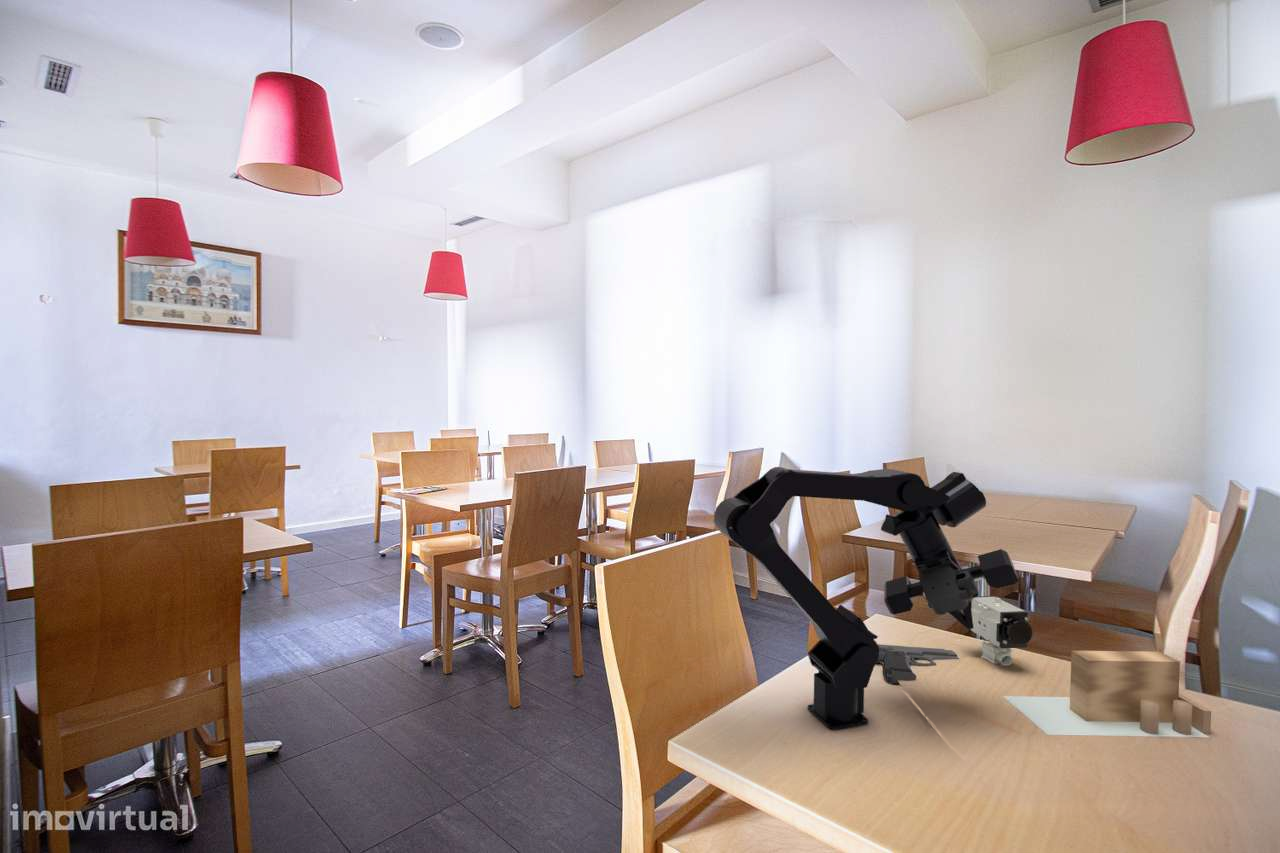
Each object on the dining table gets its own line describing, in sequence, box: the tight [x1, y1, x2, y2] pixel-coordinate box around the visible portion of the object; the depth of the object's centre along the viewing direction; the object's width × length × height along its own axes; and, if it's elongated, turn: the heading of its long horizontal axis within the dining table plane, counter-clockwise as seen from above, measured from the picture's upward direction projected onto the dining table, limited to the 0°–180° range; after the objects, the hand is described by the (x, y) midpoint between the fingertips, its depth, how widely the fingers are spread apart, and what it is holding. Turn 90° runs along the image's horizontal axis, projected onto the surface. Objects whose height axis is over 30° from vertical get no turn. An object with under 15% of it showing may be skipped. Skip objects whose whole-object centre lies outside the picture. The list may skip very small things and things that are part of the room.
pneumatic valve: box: [969, 595, 1033, 667], centre depth 109 cm, size 6×12×12 cm, turn 6°
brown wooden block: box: [1069, 650, 1181, 723], centre depth 90 cm, size 13×4×9 cm, turn 88°
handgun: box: [877, 643, 960, 685], centre depth 107 cm, size 3×16×12 cm
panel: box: [1002, 692, 1212, 739], centre depth 90 cm, size 23×11×5 cm, turn 88°
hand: (970, 627), depth 94 cm, fingers closed
